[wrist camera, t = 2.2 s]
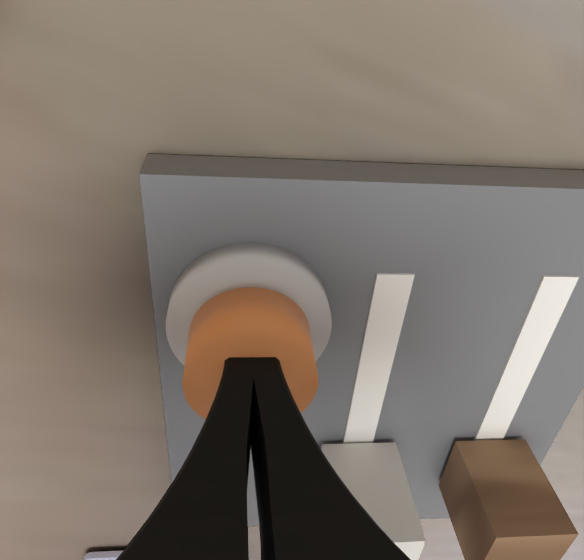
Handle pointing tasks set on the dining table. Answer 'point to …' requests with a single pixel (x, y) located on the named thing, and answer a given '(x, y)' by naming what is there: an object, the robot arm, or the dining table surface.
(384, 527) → the slider cream
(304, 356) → the button orange
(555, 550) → the slider walnut
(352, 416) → the panel
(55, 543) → the dining table surface
